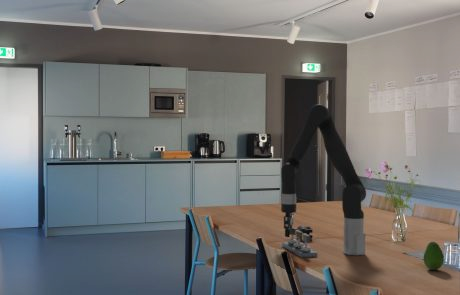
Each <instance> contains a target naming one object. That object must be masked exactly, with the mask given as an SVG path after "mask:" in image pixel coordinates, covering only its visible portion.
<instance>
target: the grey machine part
mask: <svg viewBox="0 0 460 295" xmlns="http://www.w3.org/2000/svg"><path fill="white" fill-rule="evenodd" d="M296 229H299V231H301V232H303V234H307V235H309V236H310V242H312V241H313V234H312V233H313V232H314V231H313V229H312V228H311V226H304V225H299V226H297V228H296Z"/></svg>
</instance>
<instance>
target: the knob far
mask: <svg viewBox="0 0 460 295" xmlns="http://www.w3.org/2000/svg"><path fill="white" fill-rule="evenodd" d="M295 230H299V229H297V228H296V227H292V228H290V234H291V239H290V238H289V239H287V242H288V243H289V244H295V243H297V242H298V239H295V238H294V236H295Z"/></svg>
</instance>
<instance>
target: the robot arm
mask: <svg viewBox="0 0 460 295" xmlns="http://www.w3.org/2000/svg"><path fill="white" fill-rule="evenodd" d="M317 129H319V131H320V133H321V135H322V139H323V140H322V141H323V145H324V148H325V152H326V154H327V157H328V159H329V161H330V163H331V165H332V166H333V167H334V169H335V171H337V173H338V174H339V175H340V177H341V178H342V179H343V181H344V185H345V187H344V188H343V190H342V194H341V198H342V199H341V201H342V202H341V203H342V213H343V254H344V255H348V256H362V255H363V256H364V255H366V234H365V233H364V231H365V229H364V228H365V226H364V223H365V220H364V219H365V213H364V211H363V209H362V202H363V201H364V200H365V199H366V197H367V191H366V188H365V185H364V184H363V183H362V180H361V178H360V176H359V175H358V174H357V171H356V169H355V167H354V164H353V162H352V160H351V158H350V155H349V152H348V151H347V148H346V146H345V144H344V142H343V140H342V138H341V136H340V134H339V133H338V131H337V128H336V126H335V124H334V120H333V118H332V114H331V111H330V110H329V108H328V107H326V106H325V105H324V104H320V103H319V104H314V105H313V106H312V107H311V108H310V110H309V113H308V115H307V118H306V121H305V123H304V125H303V128H302V131H301V132H300V135H299V136H298V138H297V139H296V142H295V144H294V146H293V147H292V150H291V151H290V153H289V157H288V159H287V160H286V162H285V163H284V164H283V165H282V167H281V169H280V170H281V172H280V175H281V176H280V177H281V197H280V198H281V200H280V204H281V205H280V207H281V208H280V211H281V213H285V214H284V216H283V229H284V236H285V238H290V235H291V234H290V228H294V227H293V226H294V213H297V184H296V173H297V172H298V170H299V168H300V166H301V163H302V161H303V160H304V158H305V156H306V155H307V152H308V151H309V149H310V147H311V144H312V141H313V137H314V135H315V133H316V131H317ZM291 236H292V235H291Z"/></svg>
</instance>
